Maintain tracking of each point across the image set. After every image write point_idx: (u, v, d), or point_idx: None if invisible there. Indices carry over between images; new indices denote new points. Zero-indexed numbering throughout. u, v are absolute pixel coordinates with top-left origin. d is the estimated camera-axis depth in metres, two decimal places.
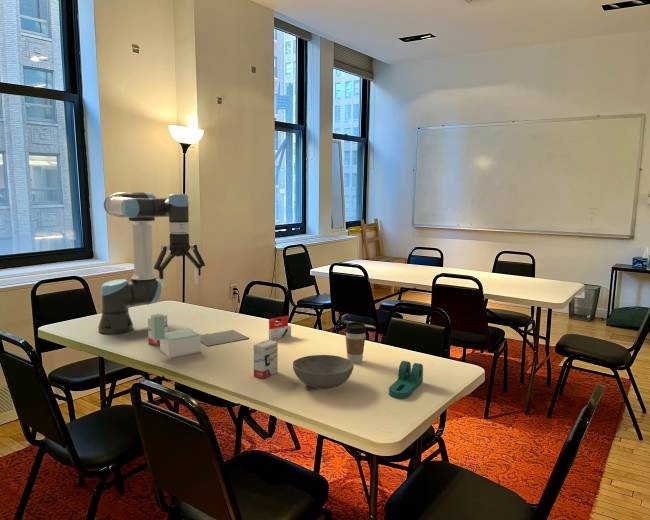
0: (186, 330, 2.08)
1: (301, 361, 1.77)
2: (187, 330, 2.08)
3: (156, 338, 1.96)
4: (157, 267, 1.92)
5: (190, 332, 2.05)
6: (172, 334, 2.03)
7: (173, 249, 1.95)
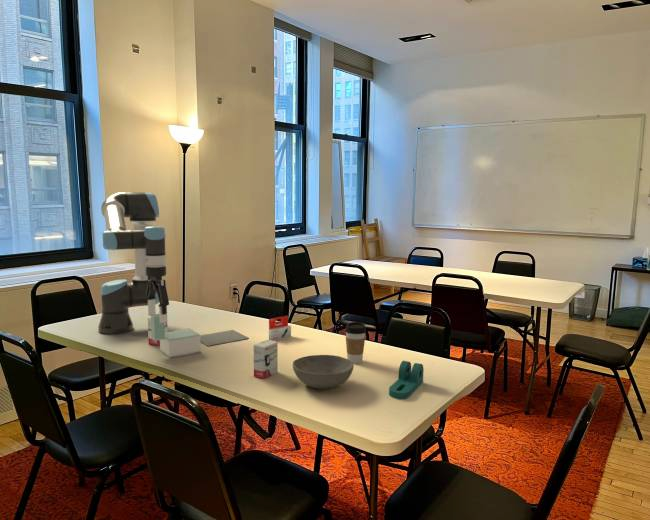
0: (186, 330, 2.08)
1: (301, 361, 1.77)
2: (187, 330, 2.08)
3: (156, 338, 1.96)
4: (146, 294, 2.02)
5: (190, 332, 2.05)
6: (172, 334, 2.03)
7: None
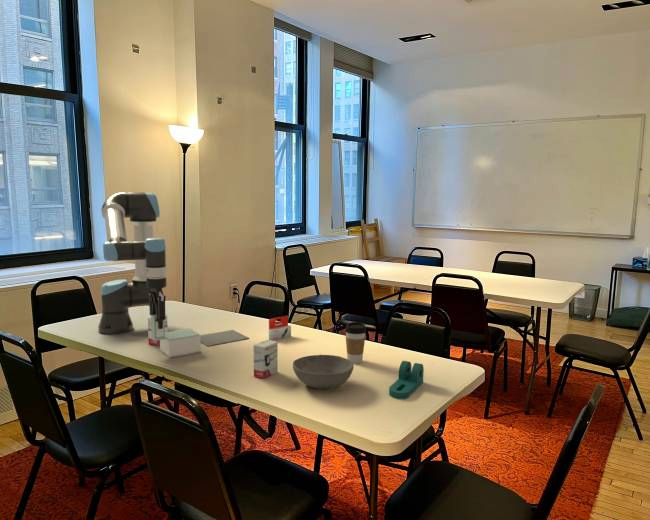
0: (186, 330, 2.08)
1: (301, 361, 1.77)
2: (187, 330, 2.08)
3: (156, 338, 1.96)
4: (150, 312, 2.00)
5: (190, 332, 2.05)
6: (172, 334, 2.03)
7: None
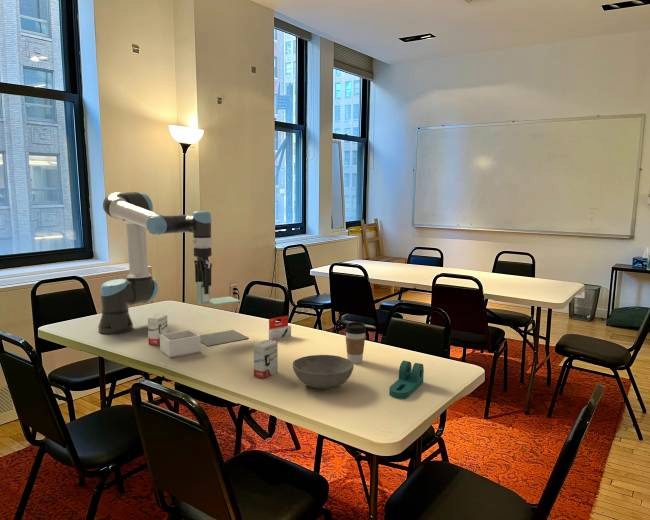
0: (227, 298, 2.26)
1: (301, 361, 1.77)
2: (228, 297, 2.27)
3: (202, 303, 2.14)
4: (195, 280, 2.19)
5: (231, 299, 2.24)
6: (216, 300, 2.21)
7: (197, 261, 2.16)
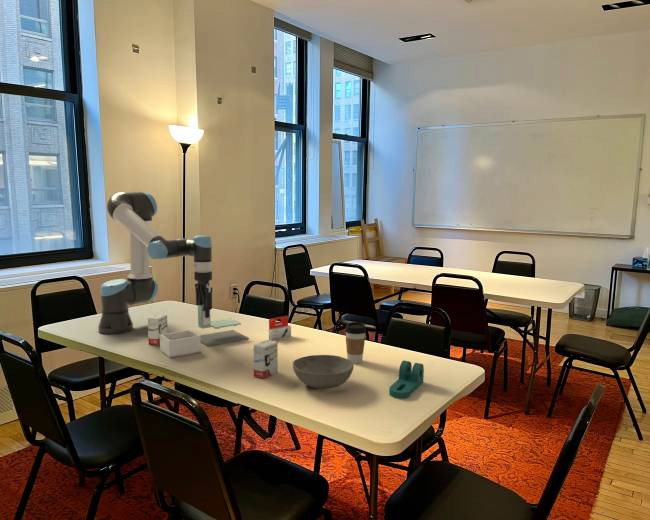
0: (228, 320, 2.28)
1: (301, 361, 1.77)
2: (229, 319, 2.28)
3: (203, 326, 2.16)
4: (196, 303, 2.20)
5: (232, 321, 2.25)
6: (216, 322, 2.23)
7: (198, 284, 2.17)
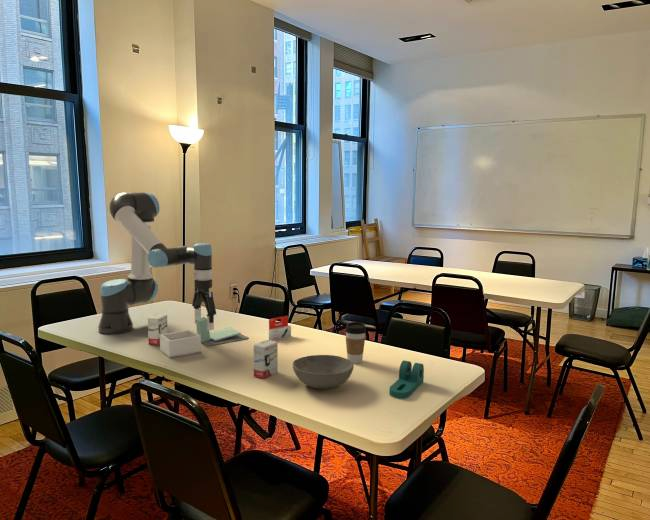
0: (227, 329, 2.28)
1: (301, 361, 1.77)
2: (228, 329, 2.29)
3: (203, 339, 2.17)
4: (192, 304, 2.24)
5: (231, 331, 2.26)
6: (216, 334, 2.24)
7: None
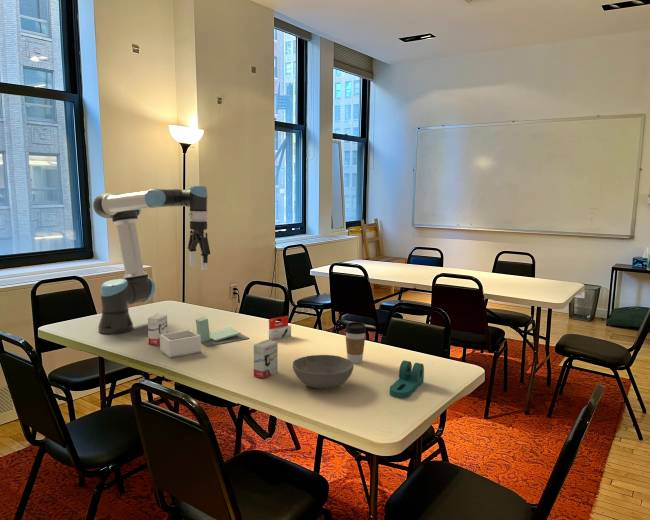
0: (227, 329, 2.28)
1: (301, 361, 1.77)
2: (228, 329, 2.29)
3: (203, 339, 2.17)
4: (188, 247, 2.29)
5: (231, 331, 2.26)
6: (216, 334, 2.24)
7: None
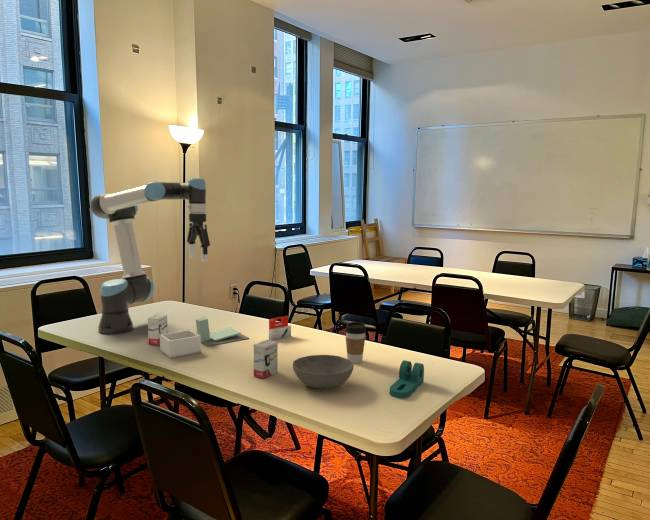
0: (227, 329, 2.28)
1: (301, 361, 1.77)
2: (228, 329, 2.29)
3: (203, 339, 2.17)
4: (187, 240, 2.31)
5: (231, 331, 2.26)
6: (216, 334, 2.24)
7: None
